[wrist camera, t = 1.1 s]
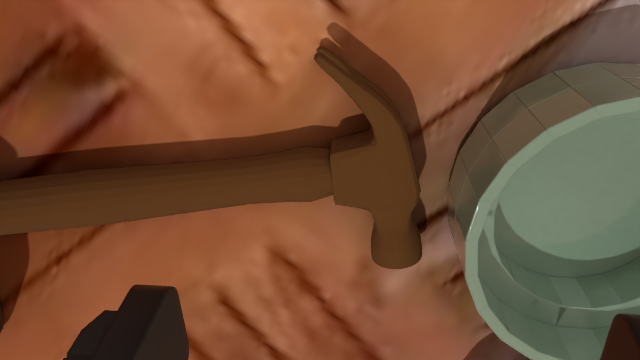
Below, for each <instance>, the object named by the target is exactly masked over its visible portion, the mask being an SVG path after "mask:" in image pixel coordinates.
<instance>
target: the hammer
mask: <svg viewBox="0 0 640 360" xmlns="http://www.w3.org/2000/svg"><path fill="white" fill-rule="evenodd" d="M317 52H318V53H316V54H315V57H314V59H315V61H316V62H317V63H318V64H319V65H320V66H321V68H322V69H323V70H324V71H326V72H327V73H328V74H329V75H330V76H331V77H332V78H333V79H334V80H335V81H336V82H337V83H338V84H339V85H340V86H341V87H342V88H343V89H344V90H345V91H346V92H347V94H348V95H349V96H350V97H351V98H352V99H353V101H354V102H355V103H356V104H357V106H358V107H359V108H360V109H361V111H362V112H363V113H364V115H365V116H366V118H367V119H368V121H369V122H370V124H371V126H372V127H371V129H370V130H367V131H364V132H361V133H358V134H354V135H350V136H345V137H341V138H337V139H333V140H332V142H331V149H325V148H314V147H300V148H296V149H291V150H287V151H282V152H276V153H270V154H264V155H258V156H252V157H246V158H236V159H223V160H210V161H197V162H184V163H172V164H159V165H146V166H133V167H120V168H107V169H95V170H85V171H77V172H69V173H60V174H52V175H44V176H36V177H28V178H20V179H11V180H3V181H0V235H7V234H17V233H27V232H37V231H47V230H58V229H68V228H78V227H88V226H98V225H105V224H112V223H119V222H126V221H133V220H140V219H147V218H154V217H161V216H168V215H175V214H182V213H189V212H196V211H203V210H210V209H217V208H224V207H231V206H238V205H245V204H256V203H275V202H311V201H314V200H318V199H321V198H324V197H327V196H330V195H333V194H334V200H335V204H336V205H343V206H350V207H356V208H361V209H366V210H368V211H371V213H372V215H373V218H374V221H375V223H374V227H373V231H372V236H371V253H372V259H373V260H374V262H375V263H376V264H378V265H379V266H381V267H384V268H389V269H402V268H407V267H410V266H413V265H415V264H416V263H417V262H418V261H419V260H420V259H421V257H422V244H421V236H420V233H419V230H418V228H417V226H416V224H415V222H414V220H413V218H412V212H413V209H414V208H415V206H416V205H417V202H418V199H419V195H420V192H421V190H420V186H419V181H418V177H417V172H416V168H415V163H414V159H413V154H412V150H411V146H410V142H409V138H408V134H407V131H406V128H405V126H404V124H403V121H402V119H401V116H400V113H399V111H398V110H397V108H396V107H395V105H394V104H393V103H392V102H391V100H390V99H389V98H388V97H387V96H386V95H385V94H384V93H383V92H382V91H381V90H380V89H379V88H378V87H377V86H376V85H375V84H373V83H372V82H371V81H369V80H368V79H366V78H365V77H364V76H362V75H361V74H359V73H358V72H357V71H356V70H354V69H353V68H352V67H351V66H349V65H348V64H347V63H345V62H344V61H343V60H341V59H340V58H339V57H337V56H336V55H335V54H333V53H332V52H331V51H330V50H328V49H327V48H325V47H324V46H320V47H318V49H317Z"/></svg>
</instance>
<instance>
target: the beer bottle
mask: <svg viewBox="0 0 640 360" xmlns="http://www.w3.org/2000/svg"><path fill="white" fill-rule="evenodd" d="M3 325H4V322H3V316H2V310H1V304H0V332H1V331H2V329H3Z"/></svg>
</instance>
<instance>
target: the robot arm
mask: <svg viewBox="0 0 640 360" xmlns="http://www.w3.org/2000/svg"><path fill="white" fill-rule="evenodd" d="M188 357H189V343H188V338H187V333H186V328H185V324H184V319H183V314H182V310H181V305H180V300H179V296H178V292H177V290H176V288H175V287H172V286H154V285H134V286H133V287H132V288H131V289H130V290H129V292H128V294H127V295H126V297H125V299H124V300H123V302H122V304H121V306H120V307H119V309H118V311H108V310H105V311H103V312H102V313H101V314H100V315H99V316H98V317H96V318H95V319H94V320H93V321H92V322H90V323H89V324H88V325H87V326H86V327H85V328H83V329H82V330H81V332H80V334H79V335H78V337H77V338H76V340H75V342H74V343H73V345H72V346H71V348H70V349H69V351H68V353H67V358H64V359H63V360H188ZM600 360H640V315H638V314H621V313H620V314H617V315H616V316H615V317H614V318H613V321H612V324H611V327H610V330H609V333H608V336H607V339H606V342H605V345H604V348H603V351H602V354H601V358H600Z"/></svg>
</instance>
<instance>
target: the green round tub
mask: <svg viewBox="0 0 640 360" xmlns="http://www.w3.org/2000/svg"><path fill="white" fill-rule="evenodd" d="M448 221H449V225H450V228H451V232H452V235H453V238H454V242H455V245H456V249H457V252H458V256H459V259H460V263H461V266H462V269H463V273H464V276H465V280H466V282H467V285H468V288H469V291H470V293H471V296H472V299H473V302H474V305H475V307H476V310H477V311H478V313H479V314H480V316H481V317H482V318H483V319H484V321H485V322H486V323H487V324H488V325H489V327H490V328H491V329H492V330H493V332H494V333H495V334H496V335H497V336H498V338H499V339H500V340H501V341H503V342H505V343H506V344H508V345H509V346H511V347H512V348H514V349H515V350H517V351H518V352H520V353H521V354H523V355H525V356H526V357H528V358H529V359H531V360H600V358H601V354H602V351H603V348H604V345H605V342H606V339H607V336H608V333H609V330H610V327H611V324H612V321H613V318H614V317H615V316H616V315H617V314H620V313H621V314H638V315H640V65H638V64H621V63H603V62H596V63H590V64H586V65H581V66H577V67H572V68H567V69H563V70H558V71H554V72H553V73H549V74H547V75H545V76H543V77H541V78H539V79H537V80H535V81H533V82H531V83H529V84H527V85H525V86H523V87H521V88H519V89H517V90H515V91H514V92H511V93H510V94H509V95H508V96H507V97H506V98H504V99H503V100H502V101H501V102H500V103H499V104H498V105H496V106H495V107H494V108H493V109H492V110H491V111H490V112H488V113H487V114H486V115H485V116H484V117H483V118H482V119H481V121H479V123H478V124H477V126H476V127H475V129H474V130H473V132H472V133H471V135H470V136H469V138H468V139H467V141H466V142H465V144H464V145H463V147H462V148H461V150H460V152H459V153H458V156H457V159H456V162H455V165H454V169H453V172H452V175H451V178H450V182H449V185H448Z"/></svg>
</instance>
